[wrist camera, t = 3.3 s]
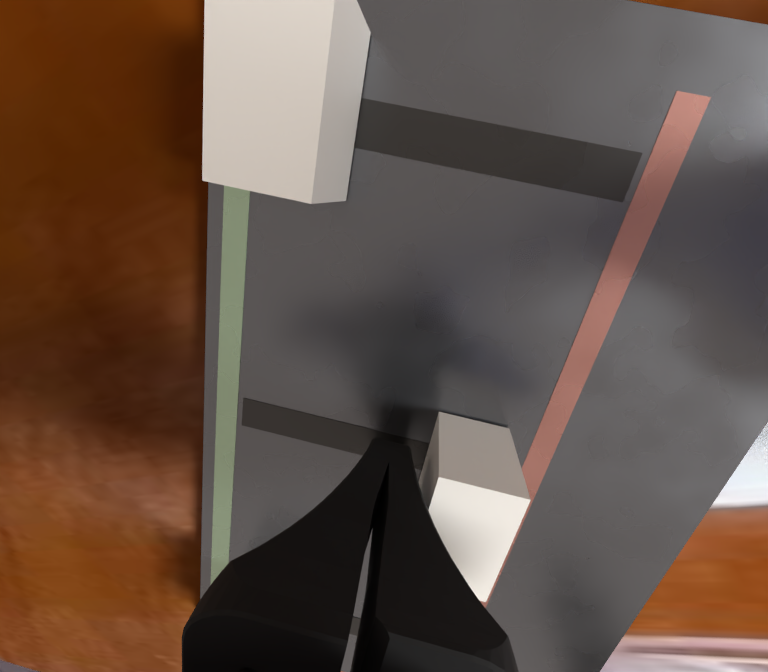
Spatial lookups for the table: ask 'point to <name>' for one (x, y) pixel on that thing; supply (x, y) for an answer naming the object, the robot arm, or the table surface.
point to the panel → (511, 296)
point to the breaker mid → (474, 495)
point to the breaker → (282, 95)
